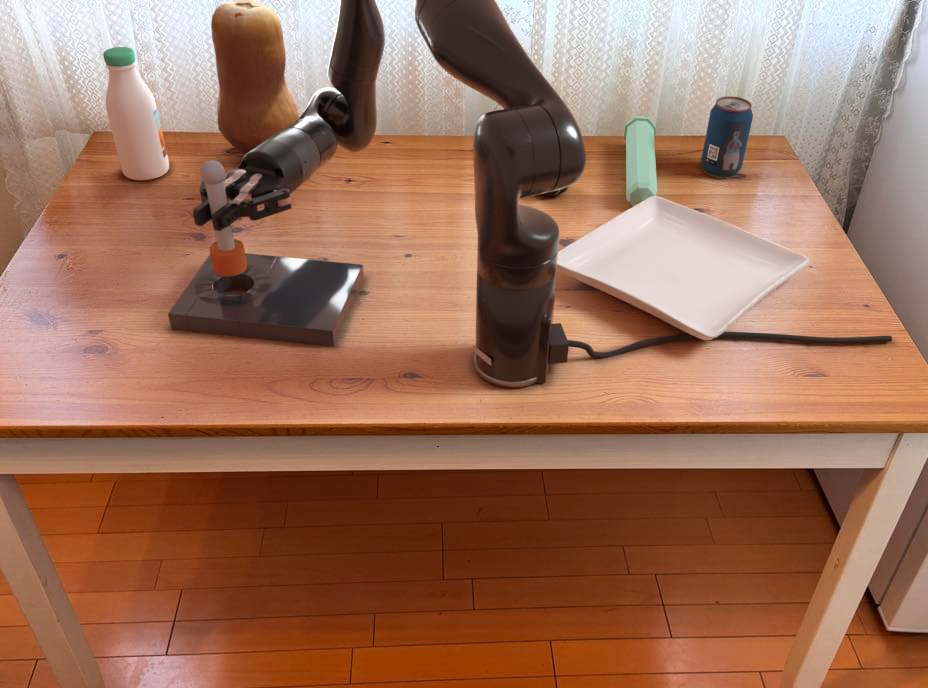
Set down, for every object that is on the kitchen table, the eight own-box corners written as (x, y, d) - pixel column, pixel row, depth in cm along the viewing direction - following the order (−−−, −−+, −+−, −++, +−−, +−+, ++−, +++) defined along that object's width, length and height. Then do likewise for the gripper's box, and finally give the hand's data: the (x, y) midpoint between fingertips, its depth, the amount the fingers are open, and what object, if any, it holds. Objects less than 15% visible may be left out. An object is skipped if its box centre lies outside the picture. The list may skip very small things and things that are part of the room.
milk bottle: (163, 182, 150) (135, 60, 137) (116, 181, 150) (84, 59, 137) (175, 161, 156) (150, 42, 143) (130, 160, 156) (101, 41, 143)
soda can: (715, 158, 161) (728, 91, 153) (748, 171, 157) (764, 104, 149) (691, 169, 157) (703, 102, 149) (724, 184, 153) (739, 115, 145)
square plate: (708, 361, 116) (714, 336, 114) (543, 279, 130) (544, 256, 127) (808, 277, 131) (815, 254, 129) (650, 212, 145) (654, 190, 143)
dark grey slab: (364, 279, 129) (363, 264, 128) (334, 346, 117) (332, 330, 116) (215, 264, 131) (212, 249, 130) (171, 329, 119) (167, 313, 118)
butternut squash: (314, 142, 163) (299, -5, 146) (285, 175, 153) (266, 21, 137) (242, 133, 165) (219, -13, 149) (209, 165, 155) (181, 13, 139)
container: (655, 178, 141) (651, 110, 159) (618, 189, 143) (619, 121, 161) (664, 211, 144) (660, 141, 163) (628, 220, 146) (627, 150, 165)
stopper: (251, 260, 123) (234, 154, 113) (240, 278, 120) (221, 171, 110) (220, 257, 123) (200, 152, 113) (208, 275, 120) (186, 168, 110)
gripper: (235, 129, 126) (154, 183, 113) (322, 149, 121) (247, 206, 109) (243, 179, 130) (166, 235, 118) (327, 199, 126) (256, 260, 114)
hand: (206, 221), depth 114 cm, fingers closed on stopper, 2 cm apart
